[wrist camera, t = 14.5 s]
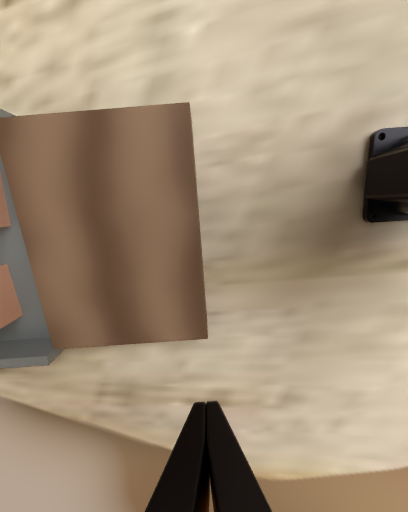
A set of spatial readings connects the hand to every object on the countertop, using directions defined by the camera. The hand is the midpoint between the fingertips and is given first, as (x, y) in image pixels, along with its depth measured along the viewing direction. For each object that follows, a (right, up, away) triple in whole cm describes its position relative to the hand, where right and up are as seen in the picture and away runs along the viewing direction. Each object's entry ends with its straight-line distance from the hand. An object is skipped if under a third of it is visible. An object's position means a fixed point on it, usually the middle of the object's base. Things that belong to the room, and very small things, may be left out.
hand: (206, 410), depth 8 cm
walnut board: (-6, +7, +10) cm, 13 cm away
